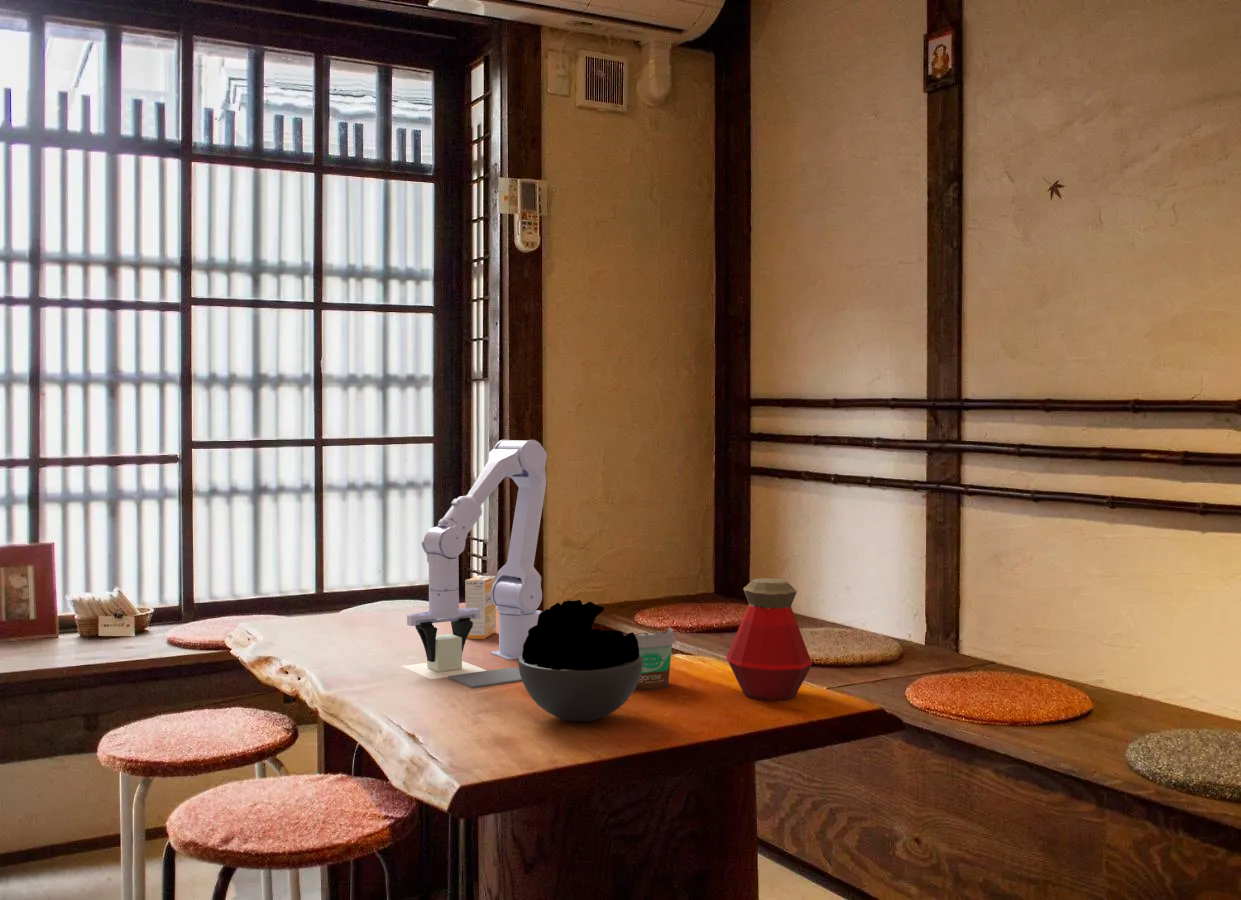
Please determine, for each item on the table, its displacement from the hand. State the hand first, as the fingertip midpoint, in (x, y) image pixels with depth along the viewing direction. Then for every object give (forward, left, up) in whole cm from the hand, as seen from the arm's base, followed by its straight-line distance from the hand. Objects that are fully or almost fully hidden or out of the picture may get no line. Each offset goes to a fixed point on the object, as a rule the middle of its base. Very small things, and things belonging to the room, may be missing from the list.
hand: (444, 659), depth 225 cm
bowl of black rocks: (-2, +47, -2) cm, 47 cm away
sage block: (0, 0, -2) cm, 2 cm away
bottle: (-38, +51, -2) cm, 64 cm away
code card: (0, 0, -2) cm, 2 cm away
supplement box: (-22, -28, -2) cm, 36 cm away
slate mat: (-4, +13, -2) cm, 14 cm away
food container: (-24, +35, -2) cm, 43 cm away
